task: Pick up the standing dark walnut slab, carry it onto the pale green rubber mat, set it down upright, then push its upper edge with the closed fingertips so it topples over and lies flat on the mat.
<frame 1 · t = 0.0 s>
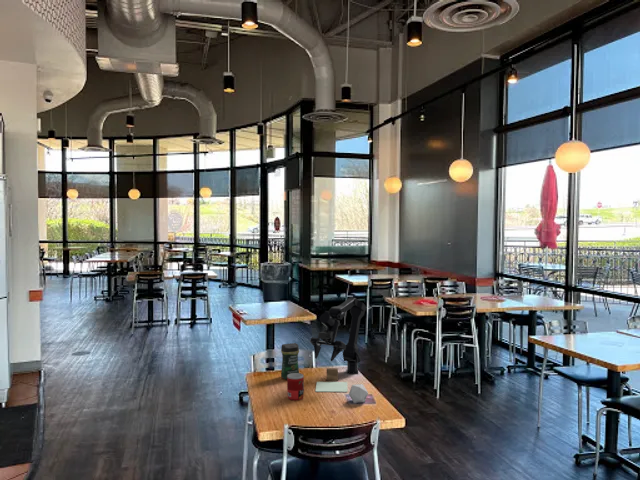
hand: (323, 359, 237), 15 cm above the table, tool tilted 35°, fingers open, 9 cm apart
walnut slab: (332, 380, 251), on the table
mat: (331, 387, 240), on the table
coffee jar: (290, 377, 256), on the table
die: (358, 402, 220), on the table
canned food: (295, 398, 226), on the table
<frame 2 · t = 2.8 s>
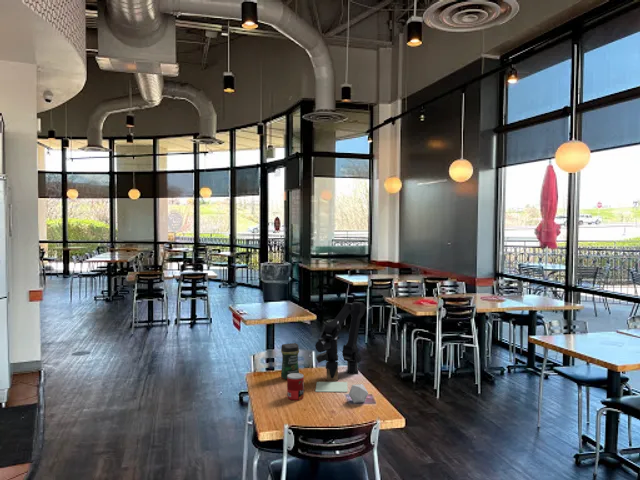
hand: (332, 377, 251), 2 cm above the table, tool pointing down, fingers closed on walnut slab, 2 cm apart
walnut slab: (332, 380, 251), on the table, touching gripper
everything else where it was.
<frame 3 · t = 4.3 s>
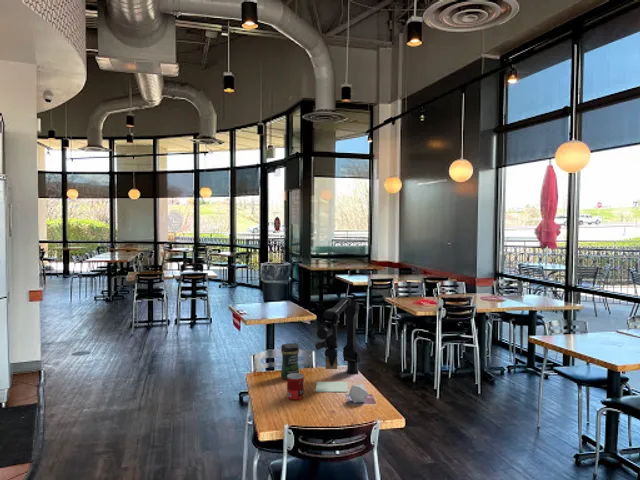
hand: (331, 365, 241), 11 cm above the table, tool pointing down, fingers closed on walnut slab, 2 cm apart
walnut slab: (331, 368, 241), point 9 cm above the table, touching gripper
everything else where it was.
when the fingers open (3 cm above the table, at t = 6.2 s): walnut slab drops 1 cm, resting on mat.
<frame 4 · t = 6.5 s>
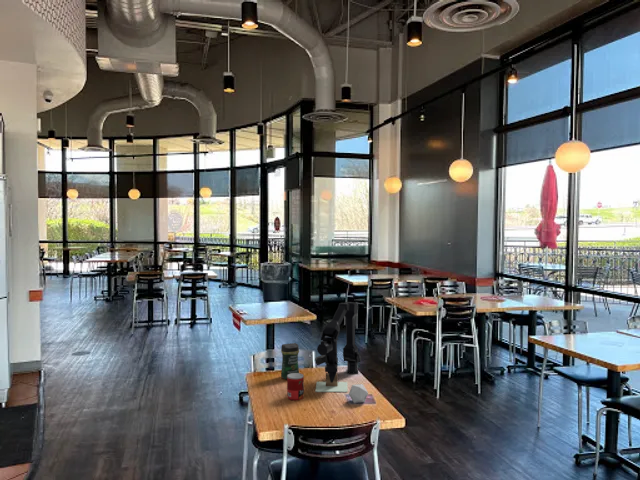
hand: (331, 380, 241), 3 cm above the table, tool pointing down, fingers open, 6 cm apart
walnut slab: (331, 385, 241), resting on mat
everything else where it was.
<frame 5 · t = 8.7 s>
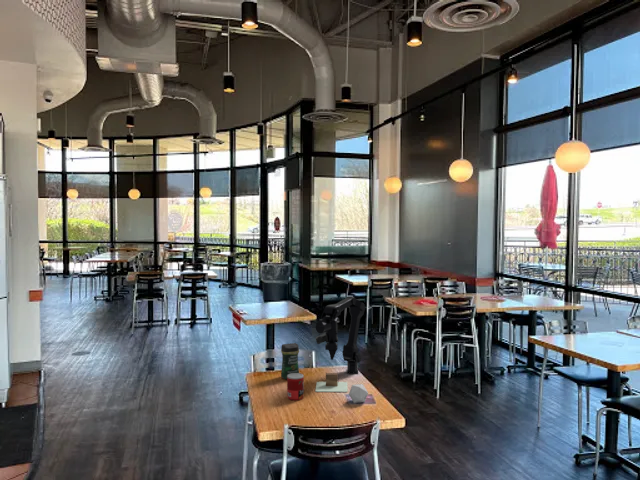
hand: (332, 358, 248), 12 cm above the table, tool pointing down, fingers closed
nothing on the table moved.
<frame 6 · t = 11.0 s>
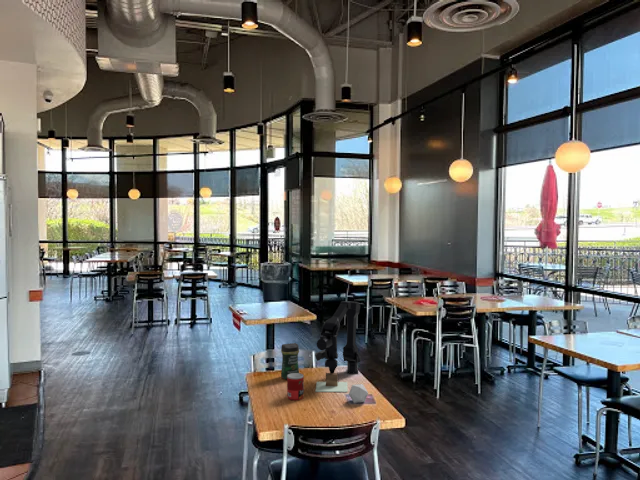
hand: (331, 375, 243), 5 cm above the table, tool pointing down, fingers closed
walnut slab: (331, 385, 241), resting on mat, touching gripper
everything else where it was.
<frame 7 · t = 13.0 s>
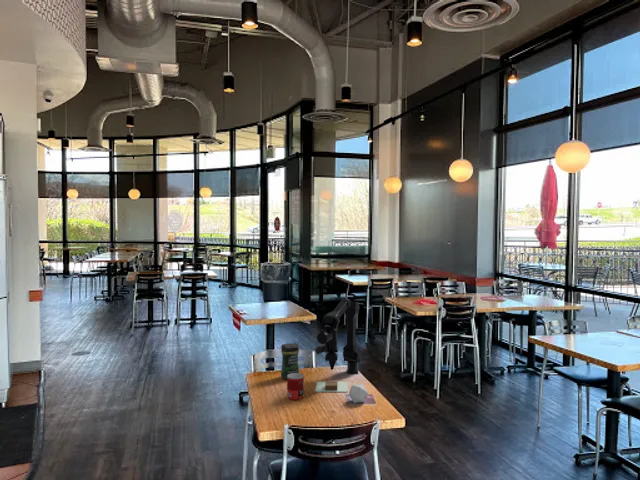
hand: (331, 369, 242), 8 cm above the table, tool pointing down, fingers closed
walnut slab: (331, 383, 240), point 2 cm above the table, tilted 90°, touching mat
everything else where it was.
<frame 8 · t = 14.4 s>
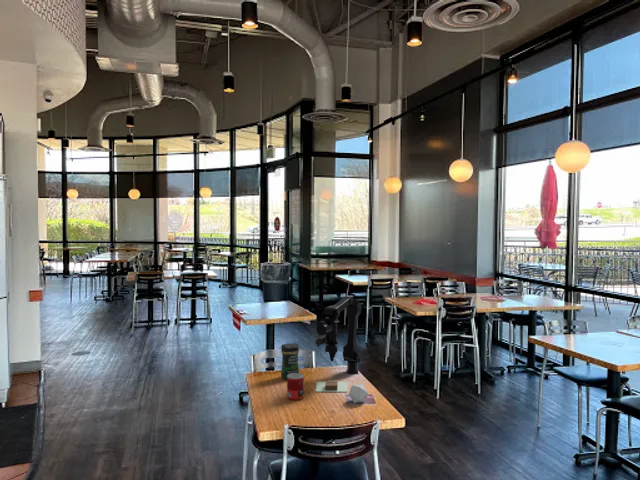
hand: (331, 361, 244), 12 cm above the table, tool pointing down, fingers closed
nothing on the table moved.
at the end: walnut slab tilted 90°; walnut slab inside the target area (1.8 cm from its centre), point 1.6 cm above the table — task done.
